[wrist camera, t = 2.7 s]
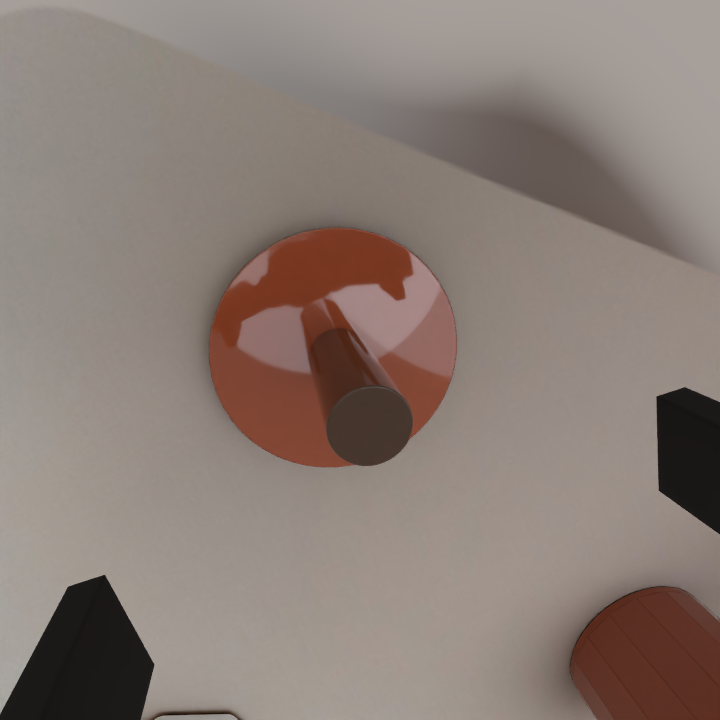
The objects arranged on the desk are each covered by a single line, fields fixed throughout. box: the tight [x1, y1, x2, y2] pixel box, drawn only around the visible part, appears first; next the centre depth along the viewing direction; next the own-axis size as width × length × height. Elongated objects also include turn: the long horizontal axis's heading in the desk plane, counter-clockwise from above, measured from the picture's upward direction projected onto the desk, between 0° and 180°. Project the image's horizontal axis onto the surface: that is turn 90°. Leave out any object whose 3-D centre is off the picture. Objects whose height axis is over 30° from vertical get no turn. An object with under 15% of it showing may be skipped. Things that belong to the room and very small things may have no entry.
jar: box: [570, 587, 720, 720], centre depth 31 cm, size 11×11×10 cm
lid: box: [209, 227, 457, 467], centre depth 20 cm, size 12×12×9 cm
